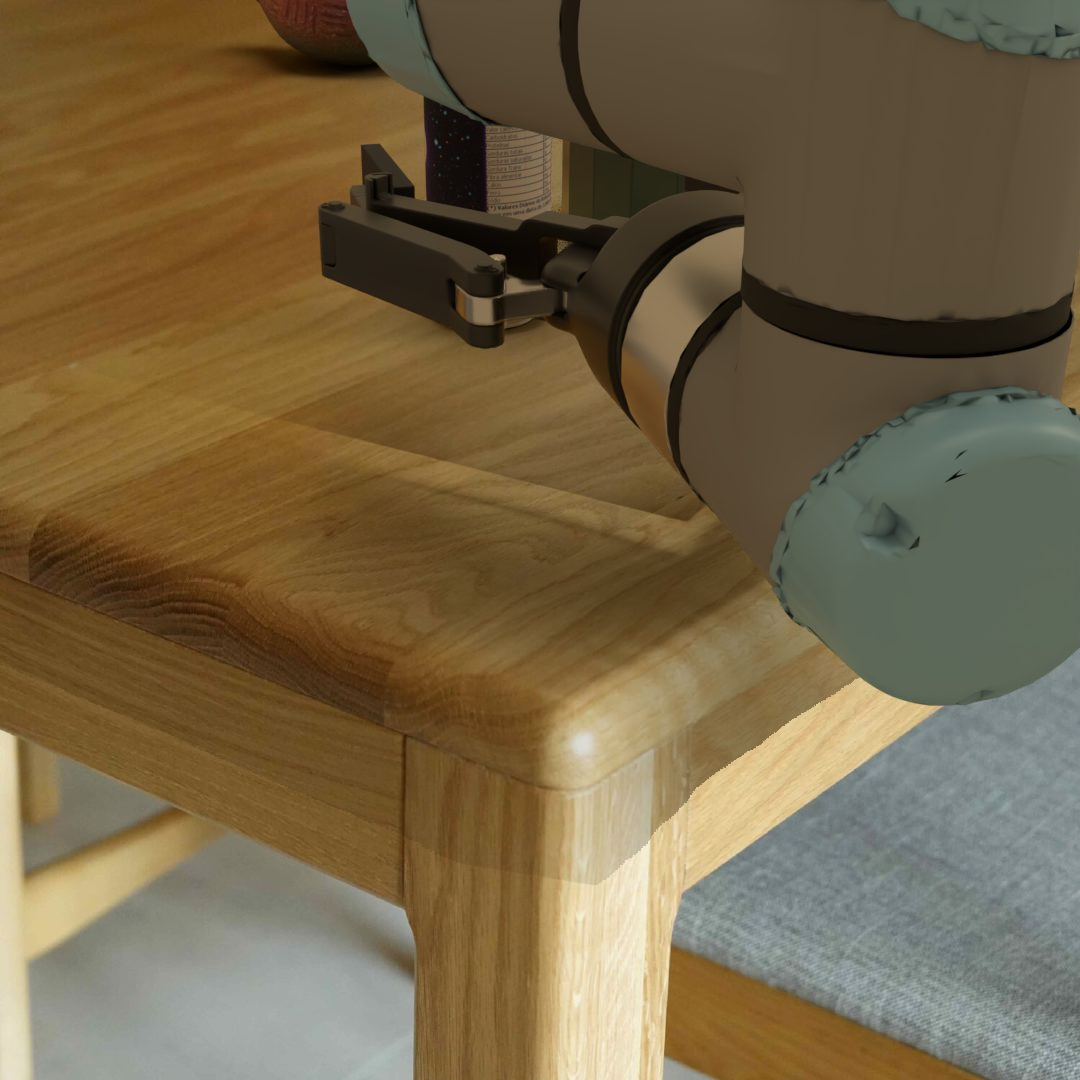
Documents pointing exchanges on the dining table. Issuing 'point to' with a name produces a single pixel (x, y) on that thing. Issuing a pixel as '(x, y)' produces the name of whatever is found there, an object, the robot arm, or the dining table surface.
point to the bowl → (318, 29)
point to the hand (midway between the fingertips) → (536, 166)
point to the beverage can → (485, 166)
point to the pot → (611, 183)
